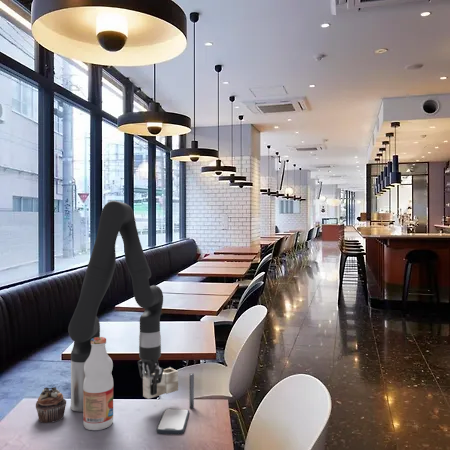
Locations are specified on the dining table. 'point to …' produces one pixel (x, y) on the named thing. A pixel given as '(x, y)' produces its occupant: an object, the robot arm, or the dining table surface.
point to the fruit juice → (98, 387)
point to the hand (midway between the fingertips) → (150, 392)
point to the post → (191, 390)
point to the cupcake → (50, 405)
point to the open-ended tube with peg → (162, 383)
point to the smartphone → (173, 421)
